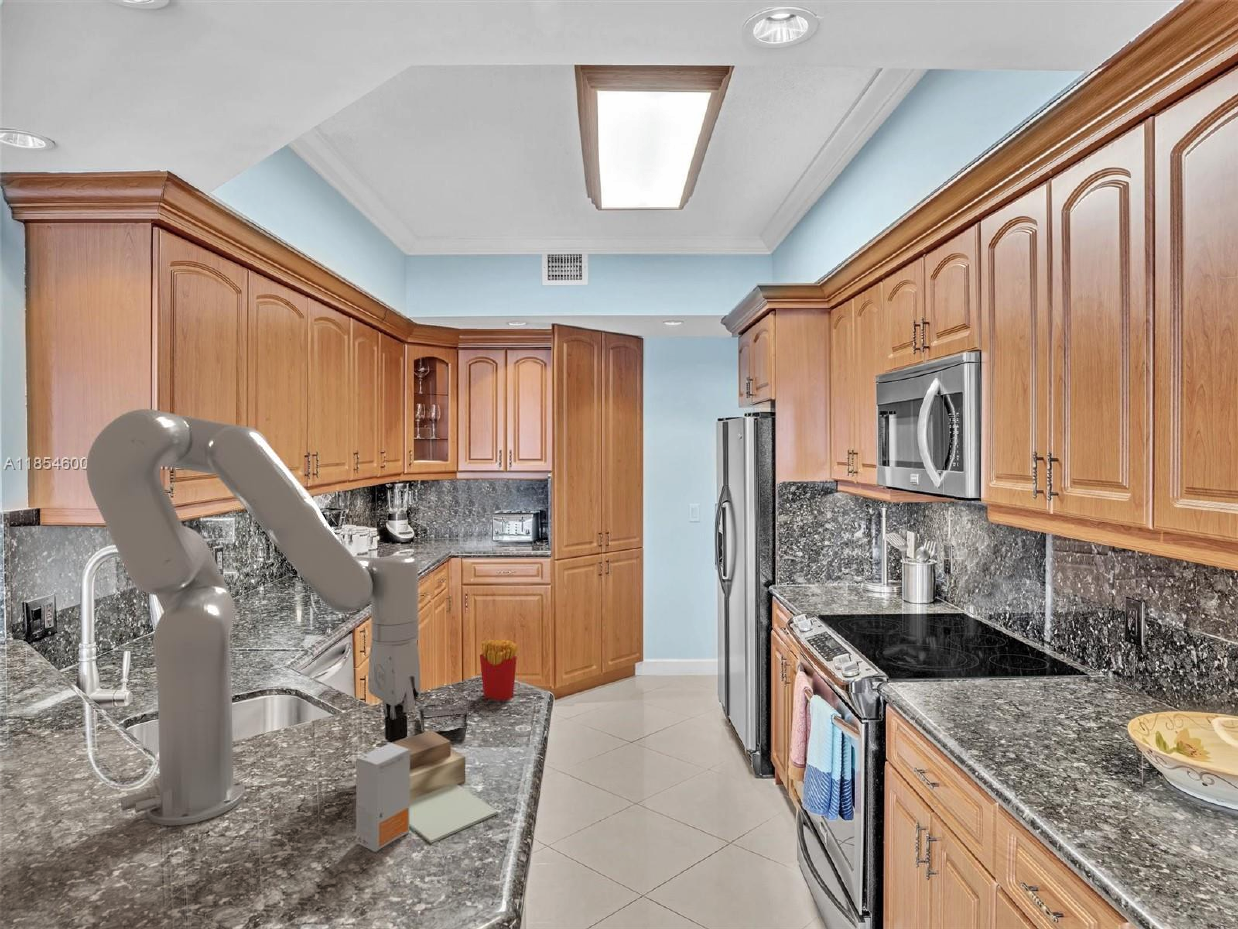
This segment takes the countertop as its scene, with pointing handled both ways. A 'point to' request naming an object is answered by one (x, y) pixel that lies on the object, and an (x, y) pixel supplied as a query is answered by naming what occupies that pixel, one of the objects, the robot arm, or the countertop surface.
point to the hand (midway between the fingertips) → (396, 738)
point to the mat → (446, 812)
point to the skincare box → (382, 796)
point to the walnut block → (426, 748)
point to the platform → (437, 775)
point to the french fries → (498, 669)
